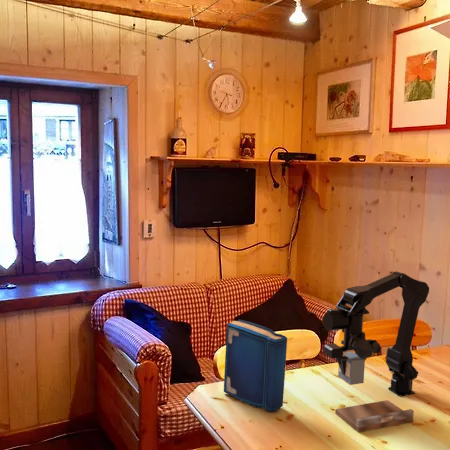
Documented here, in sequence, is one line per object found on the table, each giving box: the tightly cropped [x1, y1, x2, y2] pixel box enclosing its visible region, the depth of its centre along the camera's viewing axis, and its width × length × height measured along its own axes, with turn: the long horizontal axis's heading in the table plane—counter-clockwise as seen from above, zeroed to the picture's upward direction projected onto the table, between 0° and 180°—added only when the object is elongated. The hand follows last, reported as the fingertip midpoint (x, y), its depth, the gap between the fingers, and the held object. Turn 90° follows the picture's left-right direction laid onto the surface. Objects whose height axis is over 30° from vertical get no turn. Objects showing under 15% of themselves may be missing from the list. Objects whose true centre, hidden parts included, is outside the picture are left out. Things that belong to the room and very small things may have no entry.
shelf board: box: [334, 399, 415, 433], centre depth 160 cm, size 20×12×4 cm, turn 111°
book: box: [223, 318, 288, 413], centre depth 168 cm, size 22×7×25 cm, turn 47°
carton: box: [337, 351, 366, 386], centre depth 169 cm, size 5×7×8 cm
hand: (350, 373), depth 170 cm, fingers closed on carton, 5 cm apart
